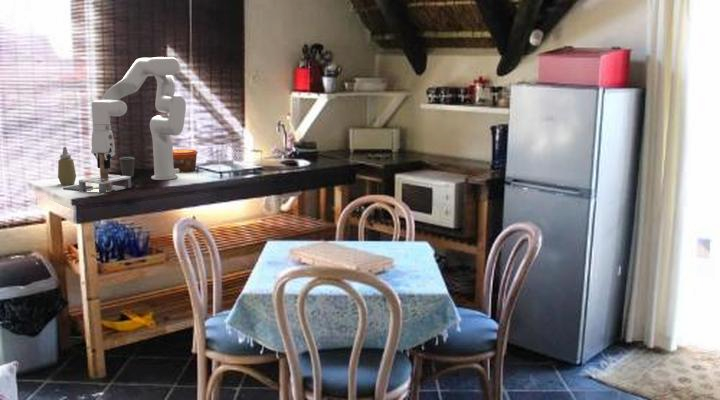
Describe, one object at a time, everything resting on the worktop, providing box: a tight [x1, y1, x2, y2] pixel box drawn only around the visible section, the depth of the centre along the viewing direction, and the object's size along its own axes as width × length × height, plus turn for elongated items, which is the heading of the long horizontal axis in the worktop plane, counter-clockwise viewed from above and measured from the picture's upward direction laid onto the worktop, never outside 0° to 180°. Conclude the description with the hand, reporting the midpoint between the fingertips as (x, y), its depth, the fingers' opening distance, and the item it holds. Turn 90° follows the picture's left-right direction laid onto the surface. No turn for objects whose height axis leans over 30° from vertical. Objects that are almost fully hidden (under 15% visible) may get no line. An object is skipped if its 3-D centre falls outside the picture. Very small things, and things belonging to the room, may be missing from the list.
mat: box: [62, 184, 94, 192], centre depth 326 cm, size 9×9×1 cm
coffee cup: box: [118, 156, 136, 178], centre depth 360 cm, size 8×8×10 cm
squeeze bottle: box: [57, 146, 77, 186], centre depth 335 cm, size 8×8×18 cm
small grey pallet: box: [78, 173, 132, 194], centre depth 324 cm, size 18×14×5 cm
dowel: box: [99, 153, 109, 180], centre depth 322 cm, size 3×3×13 cm
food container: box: [173, 148, 198, 173], centre depth 379 cm, size 16×16×11 cm
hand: (104, 167), depth 322 cm, fingers closed on dowel, 3 cm apart
